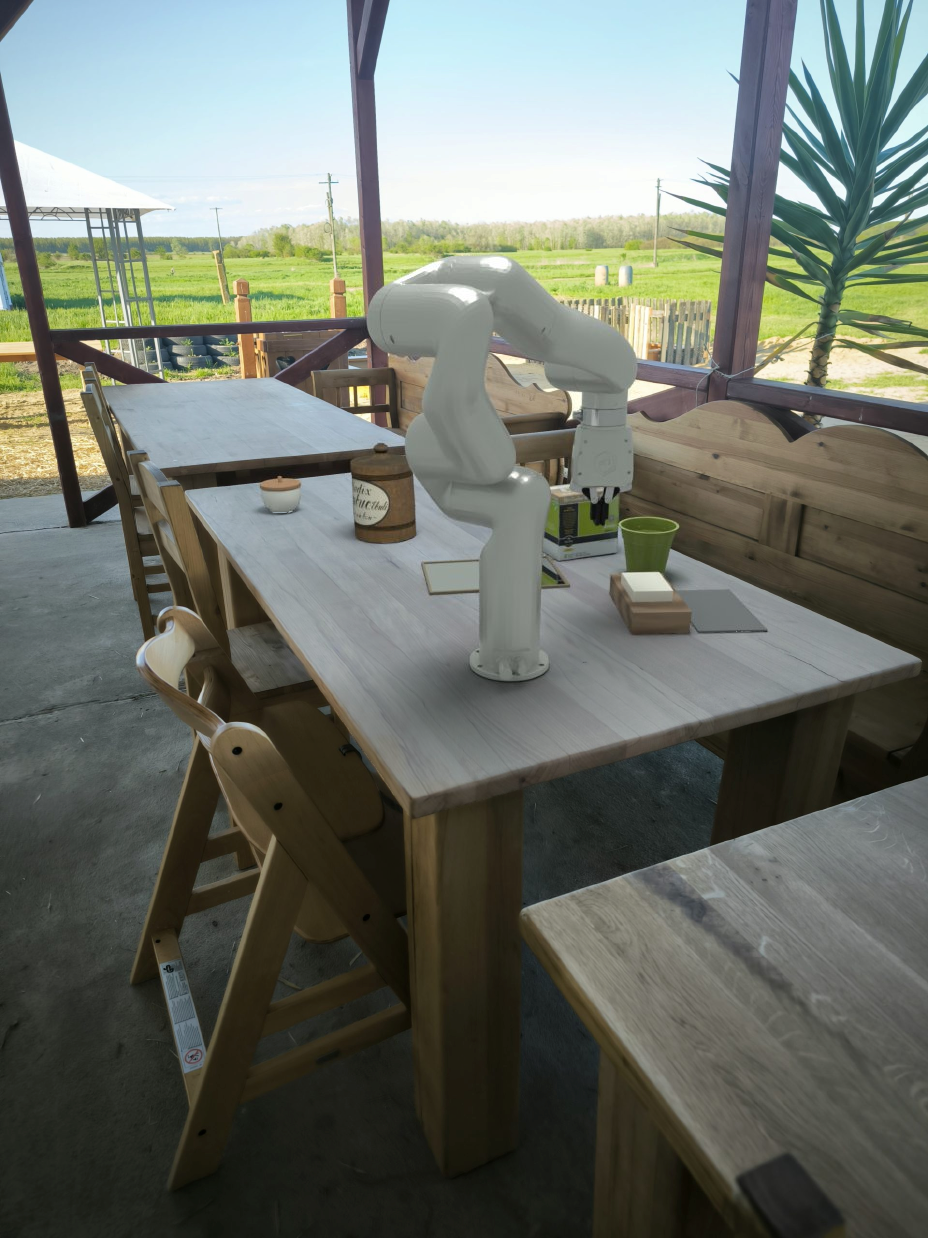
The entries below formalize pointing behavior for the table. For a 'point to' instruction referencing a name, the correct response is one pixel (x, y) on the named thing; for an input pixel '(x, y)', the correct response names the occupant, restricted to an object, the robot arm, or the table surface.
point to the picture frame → (477, 576)
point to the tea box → (578, 526)
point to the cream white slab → (646, 587)
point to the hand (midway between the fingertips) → (598, 523)
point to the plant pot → (647, 543)
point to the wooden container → (383, 497)
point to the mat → (719, 611)
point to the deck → (650, 611)
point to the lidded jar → (281, 494)
